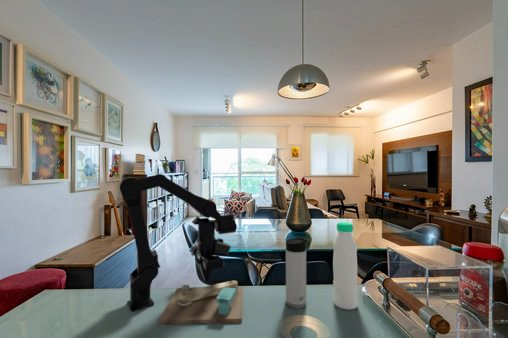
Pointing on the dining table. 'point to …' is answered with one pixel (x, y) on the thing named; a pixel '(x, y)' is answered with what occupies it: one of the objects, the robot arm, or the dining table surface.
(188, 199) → the robot arm
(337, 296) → the water bottle
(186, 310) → the base board
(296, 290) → the travel mug
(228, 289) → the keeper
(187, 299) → the link
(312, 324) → the dining table surface
